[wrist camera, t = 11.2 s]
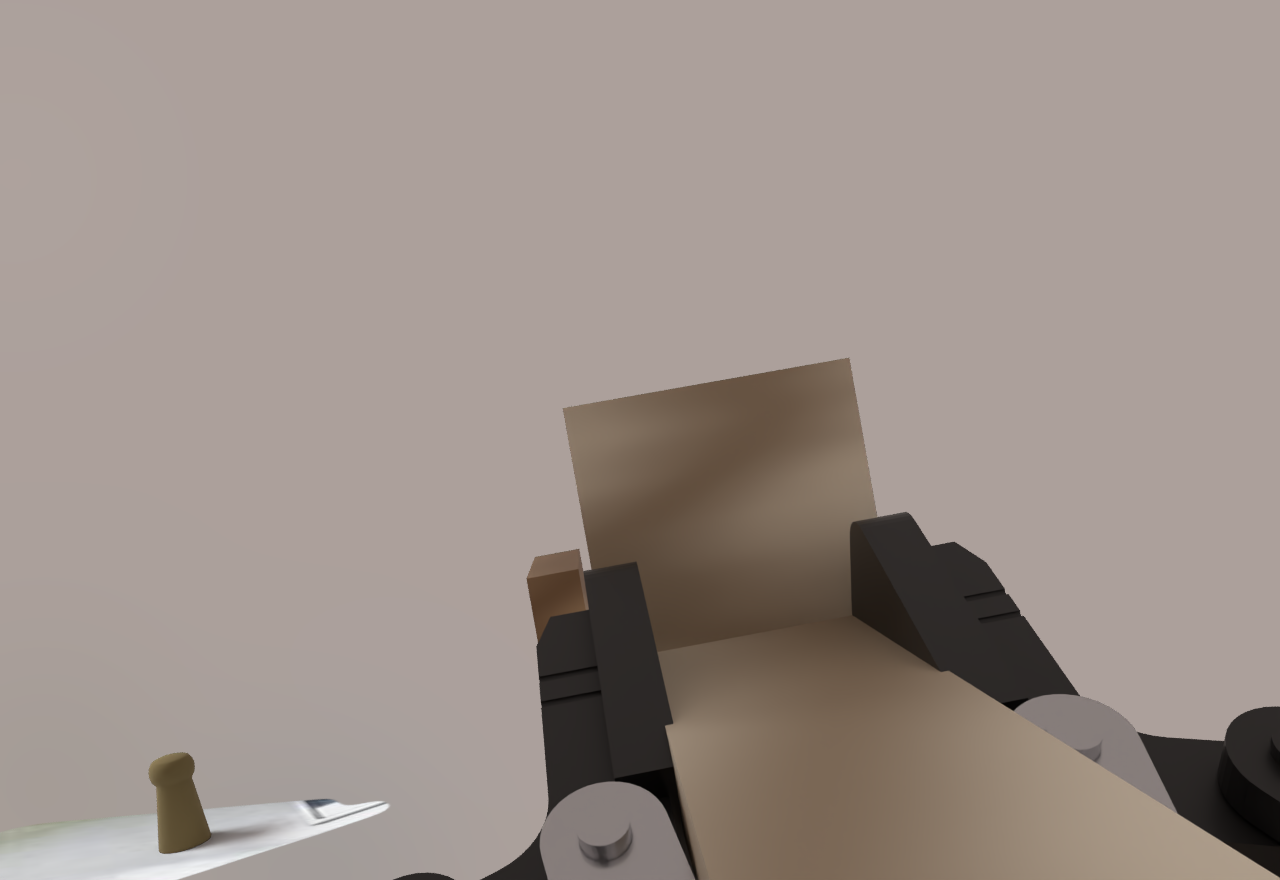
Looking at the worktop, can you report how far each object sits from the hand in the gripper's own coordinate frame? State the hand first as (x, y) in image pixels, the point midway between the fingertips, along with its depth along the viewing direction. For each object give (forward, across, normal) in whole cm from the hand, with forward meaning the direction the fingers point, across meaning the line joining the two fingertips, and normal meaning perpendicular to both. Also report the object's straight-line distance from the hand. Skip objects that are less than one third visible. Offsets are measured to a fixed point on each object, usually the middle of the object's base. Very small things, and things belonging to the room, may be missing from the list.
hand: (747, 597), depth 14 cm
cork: (+85, +59, +93) cm, 139 cm away
